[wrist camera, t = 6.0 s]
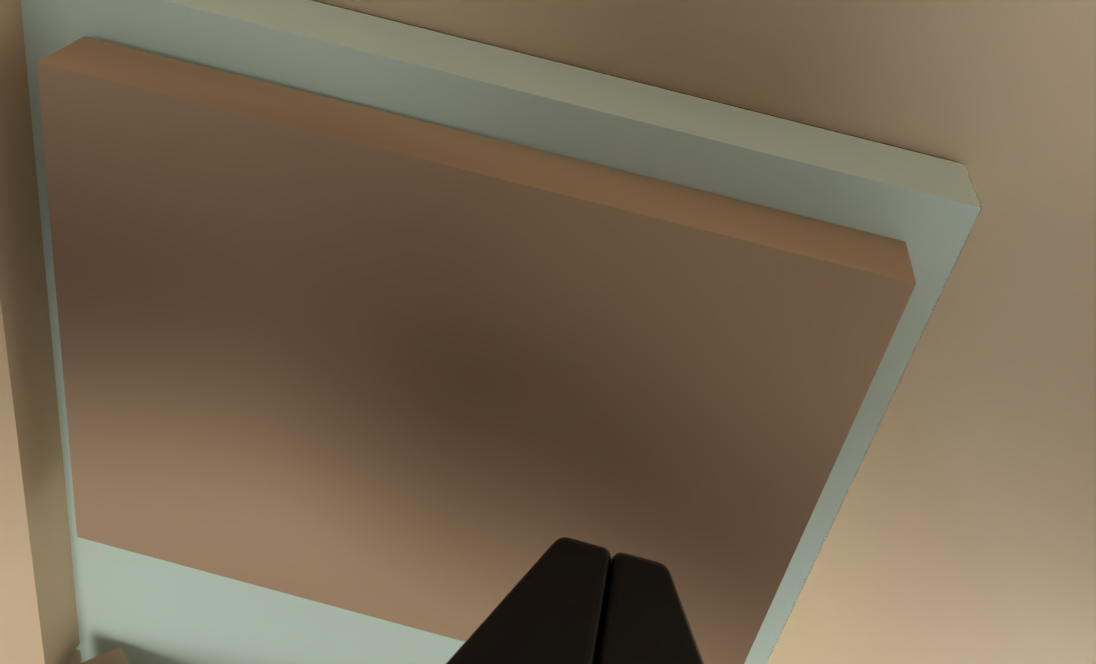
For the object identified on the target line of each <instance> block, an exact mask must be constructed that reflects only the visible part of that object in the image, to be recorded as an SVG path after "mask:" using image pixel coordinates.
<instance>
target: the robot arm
mask: <svg viewBox="0 0 1096 664" xmlns="http://www.w3.org/2000/svg"><path fill="white" fill-rule="evenodd" d="M446 664H705V663H704V661H703V658H702V656H701V653H700V650H699V648H698V645H697V642H696V640H695V637H694V634H693V632H692V629H691V626H690V624H689V621H688V618H687V616H686V613H685V610H684V608H683V605H682V603H681V600H680V597H679V595H678V592H677V589H676V587H675V584H674V581H673V579H672V576H671V574H670V572H669V570H668V568H667V567H666V566H665V565H663V564H662V563H659V562H656V561H652V560H649V559H645V558H641V557H638V556H634V555H630V554H627V553H621V552H620V553H617V554H615V555H614V556H613V557H612V559H611V555H610V552H609V551H608V550H607V549H606V548H604V547H601V546H598V545H594V544H590V543H586V542H583V541H579V540H575V539H572V538H568V537H562V538H559V539H558V540H556V541H555V542H554V543H553V544H552V545H551V546H550V547H549V548H548V549H547V551H546V552H545V553H544V554H543V555H542V556H541V557H540V558H539V560H538V561H537V562H536V563H535V564H534V565H533V566H532V567H531V569H530V570H529V571H528V572H527V573H526V574H525V575H524V576H523V578H522V579H521V580H520V581H519V582H518V583H517V584H516V585H515V587H514V588H513V589H512V590H511V591H510V592H509V593H508V594H507V596H506V597H505V598H504V599H503V600H502V601H501V602H500V603H499V605H498V606H497V607H496V608H495V609H494V610H493V611H492V612H491V614H490V615H489V616H488V617H487V618H486V619H485V620H484V621H483V623H482V624H481V625H480V626H479V627H478V628H477V629H476V630H475V632H474V633H473V634H472V635H471V636H470V637H469V638H468V639H467V641H466V642H465V643H464V644H463V645H462V646H461V647H460V648H459V649H458V651H457V652H456V653H455V654H454V655H453V656H452V657H451V658H450V660H449V661H448V662H447V663H446Z"/></svg>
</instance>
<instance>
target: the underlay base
mask: <svg viewBox="0 0 1096 664" xmlns="http://www.w3.org/2000/svg"><path fill="white" fill-rule="evenodd" d="M84 36H86V37H90V38H94V39H98V40H102V41H106V42H110V43H114V44H118V45H122V46H126V47H130V48H134V49H138V50H142V51H146V52H150V53H154V54H158V55H162V56H166V57H170V58H174V59H178V60H182V61H186V62H190V63H194V64H198V65H202V66H206V67H210V68H214V69H218V70H222V71H226V72H230V73H234V74H238V75H242V76H246V77H250V78H254V79H258V80H262V81H266V82H270V83H274V84H278V85H282V86H286V87H290V88H294V89H298V90H302V91H306V92H310V93H314V94H318V95H322V96H326V97H330V98H334V99H338V100H342V101H346V102H350V103H354V104H358V105H362V106H366V107H370V108H374V109H378V110H382V111H386V112H390V113H394V114H398V115H402V116H406V117H410V118H414V119H418V120H422V121H426V122H430V123H434V124H438V125H442V126H446V127H450V128H454V129H458V130H462V131H466V132H470V133H474V134H478V135H482V136H485V137H489V138H493V139H497V140H501V141H505V142H509V143H513V144H517V145H521V146H525V147H529V148H533V149H537V150H541V151H545V152H549V153H553V154H557V155H561V156H565V157H569V158H573V159H577V160H581V161H585V162H589V163H593V164H597V165H601V166H605V167H609V168H613V169H617V170H621V171H625V172H629V173H633V174H637V175H641V176H645V177H649V178H653V179H657V180H661V181H665V182H669V183H673V184H677V185H681V186H685V187H689V188H693V189H697V190H701V191H705V192H709V193H713V194H717V195H721V196H725V197H729V198H733V199H737V200H741V201H745V202H749V203H753V204H757V205H761V206H765V207H769V208H773V209H777V210H781V211H785V212H789V213H793V214H797V215H801V216H805V217H809V218H813V219H817V220H821V221H825V222H829V223H833V224H837V225H841V226H845V227H849V228H853V229H857V230H861V231H865V232H869V233H873V234H877V235H881V236H885V237H889V238H893V239H897V240H901V241H905V242H906V245H907V249H908V253H909V257H910V261H911V265H912V269H913V273H914V277H915V280H916V285H915V288H914V290H913V292H912V294H911V296H910V299H909V301H908V303H907V305H906V307H905V310H904V312H903V314H902V316H901V318H900V321H899V323H898V325H897V327H896V330H895V332H894V334H893V336H892V338H891V341H890V343H889V345H888V347H887V349H886V352H885V354H884V356H883V358H882V360H881V363H880V365H879V367H878V369H877V371H876V374H875V376H874V378H873V380H872V383H871V385H870V387H869V389H868V391H867V394H866V396H865V398H864V400H863V402H862V405H861V407H860V409H859V411H858V413H857V416H856V418H855V420H854V422H853V424H852V427H851V429H850V431H849V433H848V436H847V438H846V440H845V442H844V444H843V447H842V449H841V451H840V453H839V455H838V458H837V460H836V462H835V464H834V466H833V469H832V471H831V473H830V475H829V477H828V480H827V482H826V484H825V486H824V488H823V491H822V493H821V495H820V497H819V500H818V502H817V504H816V506H815V508H814V511H813V513H812V515H811V517H810V519H809V522H808V524H807V526H806V528H805V530H804V533H803V535H802V537H801V539H800V541H799V544H798V546H797V548H796V550H795V553H794V555H793V557H792V559H791V561H790V564H789V566H788V568H787V570H786V572H785V575H784V577H783V579H782V581H781V583H780V586H779V588H778V590H777V592H776V594H775V597H774V599H773V601H772V603H771V606H770V608H769V610H768V612H767V614H766V617H765V619H764V621H763V623H762V625H761V628H760V630H759V632H758V634H757V636H756V639H755V641H754V643H753V645H752V647H751V650H750V652H749V654H748V656H747V659H746V661H745V663H744V664H767V662H768V659H769V657H770V655H771V653H772V651H773V649H774V647H775V645H776V642H777V640H778V638H779V636H780V634H781V632H782V630H783V628H784V625H785V623H786V621H787V619H788V617H789V615H790V613H791V611H792V608H793V606H794V604H795V602H796V600H797V598H798V596H799V594H800V591H801V589H802V587H803V585H804V583H805V581H806V579H807V577H808V575H809V572H810V570H811V568H812V566H813V564H814V562H815V560H816V558H817V555H818V553H819V551H820V549H821V547H822V545H823V543H824V541H825V538H826V536H827V534H828V532H829V530H830V528H831V526H832V524H833V521H834V519H835V517H836V515H837V513H838V511H839V509H840V507H841V504H842V502H843V500H844V498H845V496H846V494H847V492H848V490H849V488H850V485H851V483H852V481H853V479H854V477H855V475H856V473H857V471H858V468H859V466H860V464H861V462H862V460H863V458H864V456H865V454H866V451H867V449H868V447H869V445H870V443H871V441H872V439H873V437H874V434H875V432H876V430H877V428H878V426H879V424H880V422H881V420H882V417H883V415H884V413H885V411H886V409H887V407H888V405H889V403H890V401H891V398H892V396H893V394H894V392H895V390H896V388H897V386H898V384H899V381H900V379H901V377H902V375H903V373H904V371H905V369H906V367H907V364H908V362H909V360H910V358H911V356H912V354H913V352H914V350H915V347H916V345H917V343H918V341H919V339H920V337H921V335H922V333H923V330H924V328H925V326H926V324H927V322H928V320H929V318H930V316H931V314H932V311H933V309H934V307H935V305H936V303H937V301H938V299H939V297H940V294H941V292H942V290H943V288H944V286H945V284H946V282H947V280H948V277H949V275H950V273H951V271H952V269H953V267H954V265H955V263H956V260H957V258H958V256H959V254H960V252H961V250H962V248H963V246H964V243H965V241H966V239H967V237H968V235H969V233H970V231H971V229H972V227H973V224H974V222H975V220H976V218H977V216H978V214H979V212H980V210H981V205H980V203H979V200H978V198H977V195H976V192H975V190H974V187H973V185H972V182H971V180H970V177H969V174H968V172H967V169H966V167H965V164H961V163H957V162H953V161H949V160H945V159H941V158H937V157H933V156H929V155H925V154H921V153H917V152H913V151H909V150H905V149H901V148H897V147H893V146H889V145H885V144H881V143H877V142H873V141H869V140H865V139H861V138H857V137H853V136H849V135H845V134H842V133H838V132H834V131H830V130H826V129H822V128H818V127H814V126H810V125H806V124H802V123H798V122H794V121H790V120H786V119H782V118H778V117H774V116H770V115H766V114H762V113H758V112H754V111H750V110H746V109H742V108H738V107H734V106H730V105H726V104H722V103H718V102H714V101H710V100H706V99H702V98H698V97H694V96H690V95H686V94H682V93H678V92H674V91H670V90H666V89H662V88H658V87H654V86H650V85H646V84H642V83H638V82H634V81H630V80H626V79H622V78H618V77H614V76H610V75H607V74H603V73H599V72H595V71H591V70H587V69H583V68H579V67H575V66H571V65H567V64H563V63H559V62H555V61H551V60H547V59H543V58H539V57H535V56H531V55H527V54H523V53H519V52H515V51H511V50H507V49H503V48H499V47H495V46H491V45H487V44H483V43H479V42H475V41H471V40H467V39H463V38H459V37H455V36H451V35H447V34H443V33H439V32H435V31H431V30H427V29H423V28H419V27H415V26H411V25H407V24H403V23H399V22H395V21H391V20H387V19H383V18H379V17H376V16H372V15H368V14H364V13H360V12H356V11H352V10H348V9H344V8H340V7H336V6H332V5H328V4H324V3H320V2H316V1H312V0H0V664H80V663H82V662H85V661H87V660H90V659H92V658H94V657H97V656H99V655H102V654H104V653H106V652H109V651H111V650H114V649H116V648H119V647H121V648H122V650H123V652H124V654H125V656H126V658H127V659H128V661H129V663H130V664H446V663H447V662H448V661H449V660H450V658H451V657H452V656H453V655H454V654H455V653H456V652H457V651H458V649H459V648H460V647H461V646H462V645H463V644H464V643H465V642H464V641H460V640H456V639H452V638H449V637H445V636H441V635H438V634H434V633H430V632H427V631H423V630H419V629H415V628H412V627H408V626H404V625H401V624H397V623H393V622H390V621H386V620H382V619H379V618H375V617H371V616H367V615H364V614H360V613H356V612H353V611H349V610H345V609H342V608H338V607H334V606H330V605H327V604H323V603H319V602H316V601H312V600H308V599H305V598H301V597H297V596H294V595H290V594H286V593H282V592H279V591H275V590H271V589H268V588H264V587H260V586H257V585H253V584H249V583H245V582H242V581H238V580H234V579H231V578H227V577H223V576H220V575H216V574H212V573H209V572H205V571H201V570H197V569H194V568H190V567H186V566H183V565H179V564H175V563H172V562H168V561H164V560H160V559H157V558H153V557H149V556H146V555H142V554H138V553H135V552H131V551H127V550H124V549H120V548H116V547H112V546H109V545H105V544H101V543H98V542H94V541H90V540H87V539H83V538H79V537H77V529H76V518H75V506H74V494H73V483H72V471H71V460H70V448H69V437H68V425H67V413H66V402H65V390H64V379H63V367H62V356H61V344H60V332H59V321H58V309H57V298H56V286H55V275H54V263H53V252H52V240H51V228H50V217H49V205H48V194H47V182H46V171H45V159H44V147H43V136H42V124H41V113H40V101H39V90H38V78H37V66H36V62H37V61H39V60H41V59H43V58H45V57H46V56H48V55H50V54H52V53H54V52H56V51H58V50H60V49H61V48H63V47H65V46H67V45H69V44H71V43H73V42H75V41H76V40H78V39H80V38H82V37H84Z"/></svg>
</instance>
